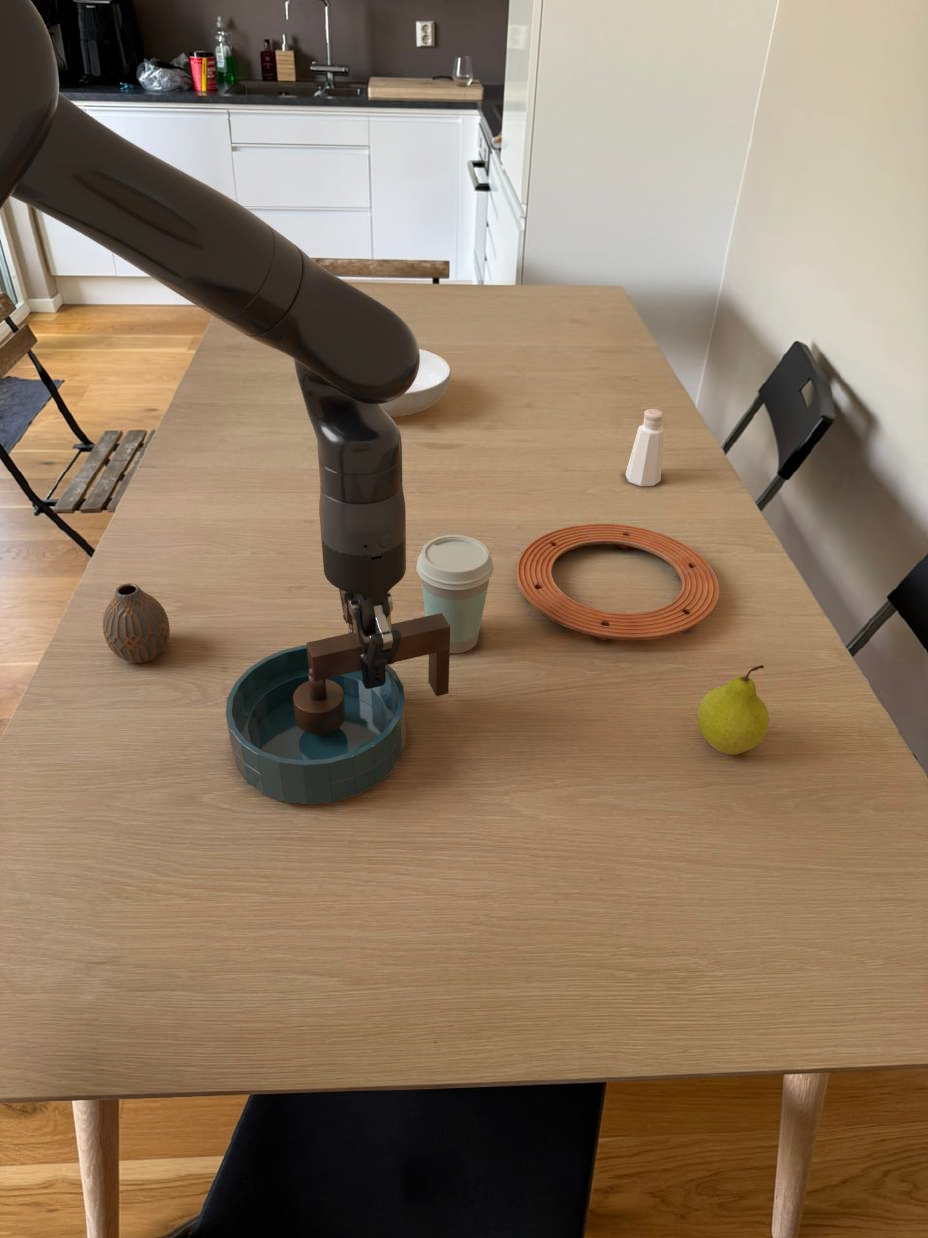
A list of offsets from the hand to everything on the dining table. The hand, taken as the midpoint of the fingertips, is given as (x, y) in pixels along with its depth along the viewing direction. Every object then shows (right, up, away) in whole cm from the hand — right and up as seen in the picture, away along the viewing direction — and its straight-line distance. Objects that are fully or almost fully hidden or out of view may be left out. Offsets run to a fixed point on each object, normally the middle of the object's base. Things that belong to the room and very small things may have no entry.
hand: (369, 675), depth 89 cm
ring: (+29, +9, +24) cm, 39 cm away
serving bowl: (-3, +43, +66) cm, 79 cm away
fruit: (+37, -7, +3) cm, 38 cm away
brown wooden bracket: (0, -3, +3) cm, 4 cm away
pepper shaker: (+37, +27, +48) cm, 66 cm away
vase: (-27, +2, +12) cm, 30 cm away
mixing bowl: (-5, -7, +1) cm, 9 cm away
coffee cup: (+8, +3, +15) cm, 18 cm away
